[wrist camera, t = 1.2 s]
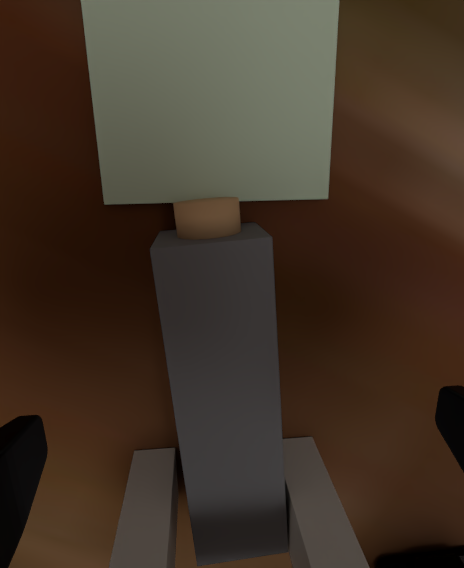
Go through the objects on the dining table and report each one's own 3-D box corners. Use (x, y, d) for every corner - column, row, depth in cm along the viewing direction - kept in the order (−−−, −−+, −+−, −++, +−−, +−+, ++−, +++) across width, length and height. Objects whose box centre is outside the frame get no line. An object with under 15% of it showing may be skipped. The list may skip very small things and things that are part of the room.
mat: (324, 198, 16) (328, 198, 15) (106, 203, 15) (104, 204, 15) (340, -99, 13) (345, -107, 13) (71, -111, 12) (67, -120, 12)
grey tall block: (270, 480, 20) (288, 551, 16) (196, 490, 20) (197, 566, 16) (252, 192, 16) (270, 199, 12) (156, 201, 16) (143, 211, 12)
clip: (309, 483, 20) (378, 672, 13) (139, 498, 19) (103, 710, 12) (311, 436, 19) (388, 610, 12) (134, 450, 19) (91, 646, 11)
